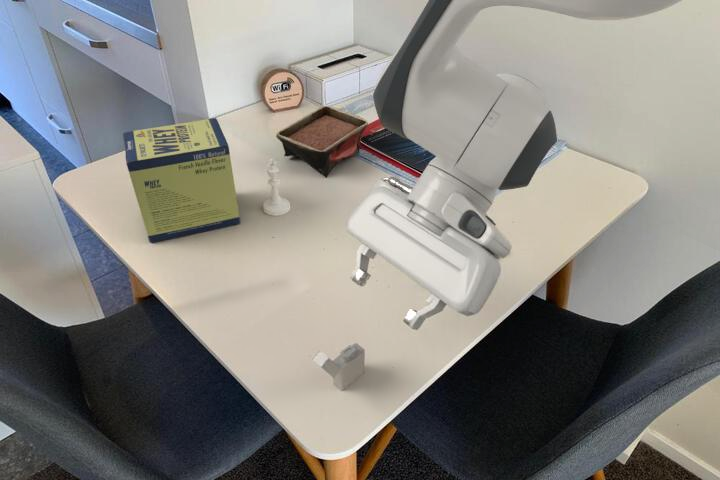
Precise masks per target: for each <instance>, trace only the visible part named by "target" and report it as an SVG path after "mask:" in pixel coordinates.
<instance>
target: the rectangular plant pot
mask: <svg viewBox="0 0 720 480" xmlns="http://www.w3.org/2000/svg"><path fill="white" fill-rule="evenodd" d="M368 125H369V121H368V120H366V119H365V118H363V117H360V116H359V115H356V114H354V113H351V112H348V111H346V110H343V109H339V108H336V107H334V106H329V105H322V106H320V107H319V108H316V109H315V110H313V111H311V112H310V113H308V114H307V115H305V116H303V117H301V118H300V119H298V120H296V121H294V122H292V123H291V124H289V125H288V126H286V127H284V128H282V129H281V130H279V131H278V132H276V135H275V137H276V138H277V140H279V142H281V144H282V147H283V150H284V155H283V157H294V156H295V157H296V156H297V157H299V158H300V159H301V160H302V161H303V162H305V163H306V164H307V165H308V166H309V167H311V169H313V170H314V171H316V172H318V173H319V174H320V175H322V176H323V177H325V178H328V176H329V174H330V173H331V171H332V170H333V169H334V168H335V166H336V165H338V163H340V161H341V160H342V159H343V160H344V159H349V158H351V157H352V156H354V155H356V154H357V155H360V146H359V142H360V140H361V137H362V135H363V133H364V132H365V130H366V128H367V127H368Z"/></svg>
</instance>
